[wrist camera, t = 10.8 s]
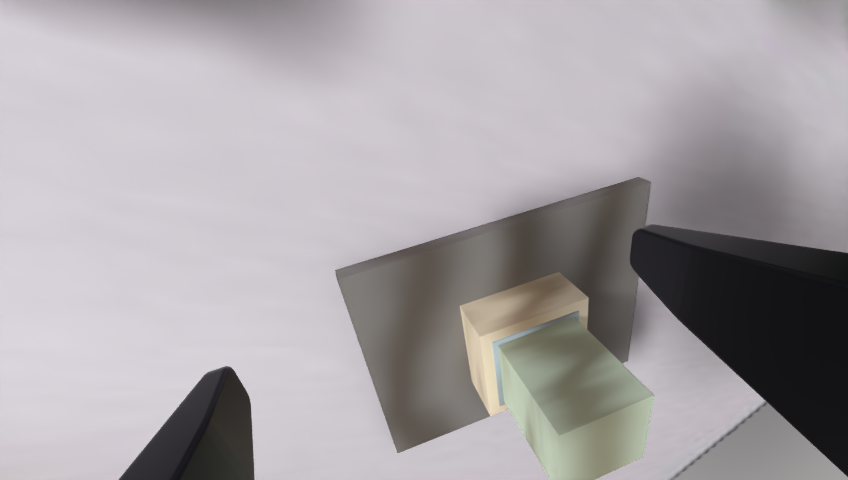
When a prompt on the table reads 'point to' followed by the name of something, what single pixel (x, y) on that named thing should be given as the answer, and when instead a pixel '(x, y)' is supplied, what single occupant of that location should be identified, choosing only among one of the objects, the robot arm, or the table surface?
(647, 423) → the sage block
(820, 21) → the table surface
